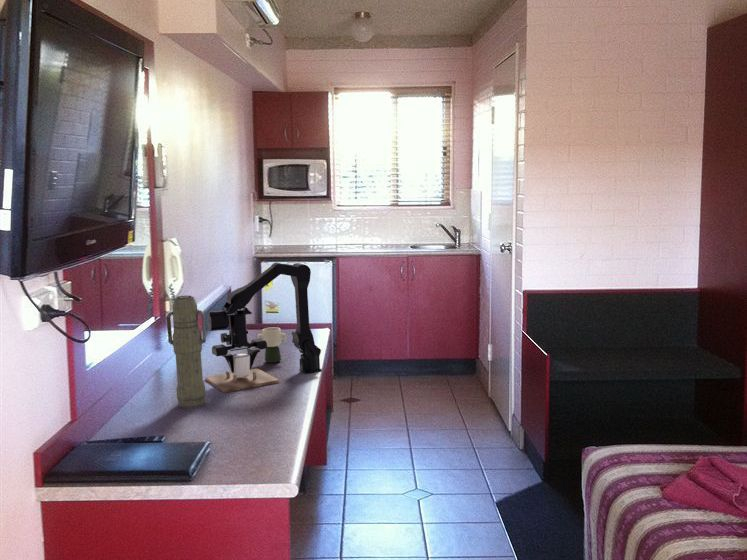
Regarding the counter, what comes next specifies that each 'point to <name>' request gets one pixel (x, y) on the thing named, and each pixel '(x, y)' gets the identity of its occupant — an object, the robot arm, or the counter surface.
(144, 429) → the counter surface
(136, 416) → the counter surface
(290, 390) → the counter surface
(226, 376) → the pin plate
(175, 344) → the thermos
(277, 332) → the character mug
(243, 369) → the shot glass
